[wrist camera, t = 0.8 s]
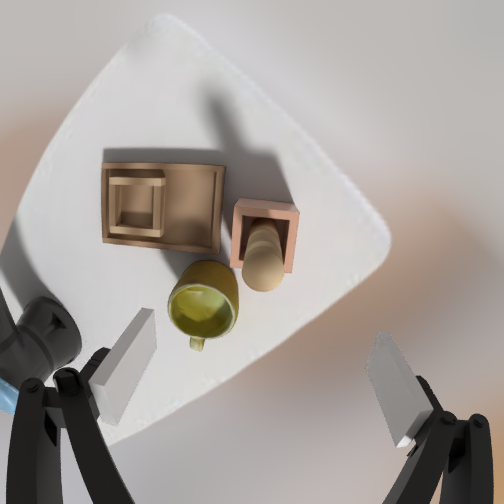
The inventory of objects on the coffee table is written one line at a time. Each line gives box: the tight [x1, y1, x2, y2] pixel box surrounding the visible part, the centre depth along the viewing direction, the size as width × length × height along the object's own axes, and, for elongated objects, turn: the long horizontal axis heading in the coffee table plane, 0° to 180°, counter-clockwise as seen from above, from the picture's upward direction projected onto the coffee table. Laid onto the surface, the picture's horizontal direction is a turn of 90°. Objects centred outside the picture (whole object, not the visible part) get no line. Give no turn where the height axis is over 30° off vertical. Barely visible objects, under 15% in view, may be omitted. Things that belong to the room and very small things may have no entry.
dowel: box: [242, 217, 284, 292], centre depth 33 cm, size 4×4×16 cm
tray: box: [101, 162, 226, 255], centre depth 39 cm, size 18×12×3 cm, turn 85°
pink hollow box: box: [230, 198, 300, 273], centre depth 38 cm, size 8×8×7 cm
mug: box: [168, 260, 239, 351], centre depth 41 cm, size 12×10×10 cm
